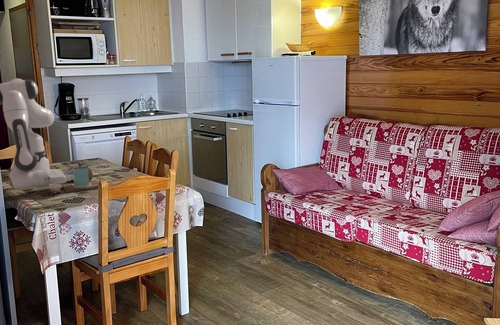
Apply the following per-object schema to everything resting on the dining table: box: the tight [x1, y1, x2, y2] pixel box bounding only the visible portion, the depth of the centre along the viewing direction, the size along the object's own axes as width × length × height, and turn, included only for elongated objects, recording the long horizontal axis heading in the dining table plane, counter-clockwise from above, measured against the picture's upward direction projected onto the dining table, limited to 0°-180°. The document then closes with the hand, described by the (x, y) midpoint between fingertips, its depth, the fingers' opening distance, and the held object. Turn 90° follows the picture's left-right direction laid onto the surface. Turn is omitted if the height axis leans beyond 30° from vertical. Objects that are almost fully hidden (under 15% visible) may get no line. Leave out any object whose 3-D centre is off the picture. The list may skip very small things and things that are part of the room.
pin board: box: [61, 180, 99, 194], centre depth 265 cm, size 14×18×5 cm
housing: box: [71, 161, 89, 187], centre depth 264 cm, size 5×7×12 cm
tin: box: [68, 166, 94, 182], centre depth 279 cm, size 15×3×8 cm, turn 68°
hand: (72, 174), depth 262 cm, fingers open, 8 cm apart
